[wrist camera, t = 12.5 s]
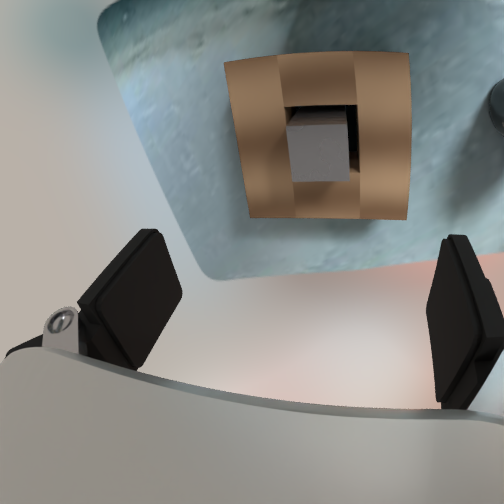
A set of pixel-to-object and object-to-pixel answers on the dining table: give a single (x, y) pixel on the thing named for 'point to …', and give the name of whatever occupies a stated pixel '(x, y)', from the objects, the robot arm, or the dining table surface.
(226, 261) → the dining table surface
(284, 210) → the socket block
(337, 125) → the square bit
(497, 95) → the supplement bottle
